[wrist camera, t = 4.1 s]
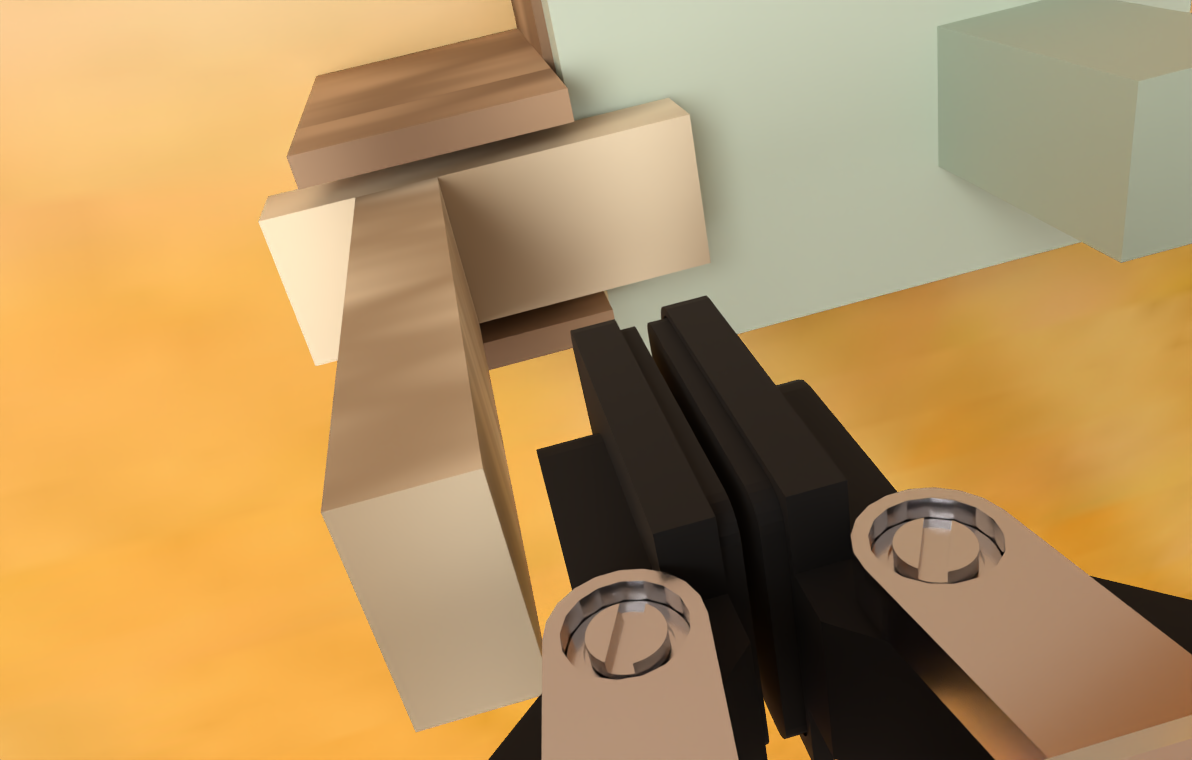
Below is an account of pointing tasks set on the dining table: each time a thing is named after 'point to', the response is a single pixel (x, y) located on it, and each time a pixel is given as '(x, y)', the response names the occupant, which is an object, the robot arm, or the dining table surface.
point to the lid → (895, 136)
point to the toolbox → (448, 139)
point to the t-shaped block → (463, 367)
